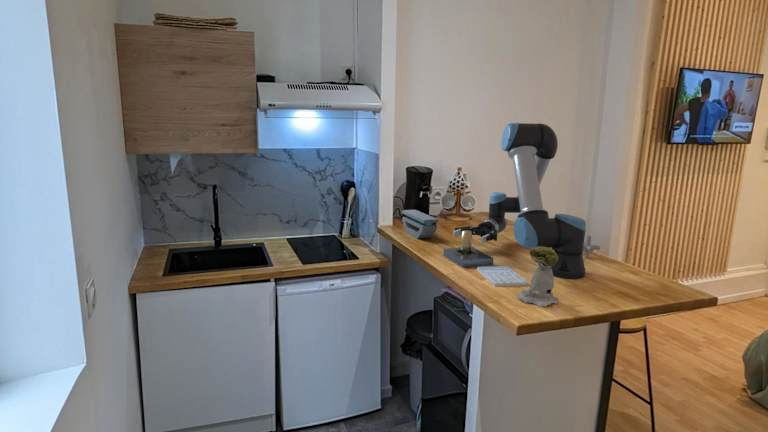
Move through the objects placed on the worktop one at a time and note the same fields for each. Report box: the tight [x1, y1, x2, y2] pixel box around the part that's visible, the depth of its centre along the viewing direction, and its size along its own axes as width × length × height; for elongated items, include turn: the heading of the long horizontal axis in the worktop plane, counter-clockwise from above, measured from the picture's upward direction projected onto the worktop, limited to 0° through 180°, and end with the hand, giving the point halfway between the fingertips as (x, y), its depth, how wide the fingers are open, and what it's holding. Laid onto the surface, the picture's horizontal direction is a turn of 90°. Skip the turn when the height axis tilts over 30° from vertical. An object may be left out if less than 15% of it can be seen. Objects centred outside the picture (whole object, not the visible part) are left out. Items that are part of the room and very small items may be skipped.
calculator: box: [476, 265, 529, 287], centre depth 186 cm, size 13×20×2 cm, turn 8°
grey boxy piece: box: [401, 209, 439, 240], centre depth 245 cm, size 25×8×11 cm, turn 23°
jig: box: [443, 246, 495, 268], centre depth 206 cm, size 18×14×3 cm
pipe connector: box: [583, 235, 601, 259], centre depth 214 cm, size 10×10×10 cm
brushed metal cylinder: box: [460, 230, 473, 254], centre depth 207 cm, size 4×4×12 cm
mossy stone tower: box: [517, 247, 559, 307], centre depth 162 cm, size 12×13×18 cm
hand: (467, 237), depth 208 cm, fingers open, 13 cm apart
